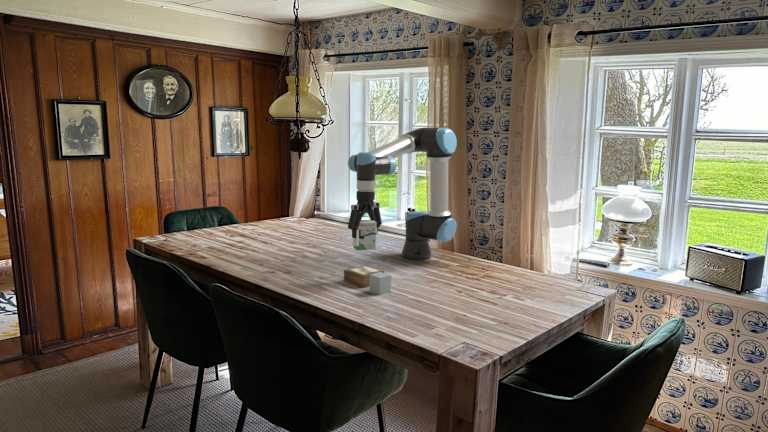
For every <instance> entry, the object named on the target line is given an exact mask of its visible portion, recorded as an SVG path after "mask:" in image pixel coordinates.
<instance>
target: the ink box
mask: <svg viewBox="0 0 768 432" xmlns="http://www.w3.org/2000/svg"><path fill="white" fill-rule="evenodd" d="M357 230H359V246H354V245H353V249H354V250H355V251H370V250H371V251H373V250H375V251H376V250H377V249H376V248H377V243H376V222H375V221H374V220H370V219H361V221H360V224H359V226H358V229H357Z"/></svg>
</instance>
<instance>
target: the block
mask: <svg viewBox="0 0 768 432" xmlns="http://www.w3.org/2000/svg"><path fill="white" fill-rule="evenodd" d="M391 285H392V275H391V274H388V273H386V272H384V273H382V272H378V273H374V274H370V279H369V287H368V288H369V290H368V292H370V293H373V294H375V295H378V296H382V295H385V294H388V293H391V292H392V291H391V288H392V286H391Z"/></svg>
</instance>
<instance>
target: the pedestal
mask: <svg viewBox="0 0 768 432" xmlns="http://www.w3.org/2000/svg"><path fill="white" fill-rule="evenodd" d="M378 272H382V273H385V270H382V269H379V268H376V267H373V266H369V265H360V266H355V267H352V268H347V269H344V270H343V282H345V283H348V284H351V285H353V286H355V287H359V288H362V289H365V288H369V279H370V274H374V273H378Z"/></svg>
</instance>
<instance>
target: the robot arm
mask: <svg viewBox="0 0 768 432" xmlns="http://www.w3.org/2000/svg"><path fill="white" fill-rule="evenodd" d="M457 141H458V140H457V136H456V135H455V132H454V131H453V130H452V129H451V128H446V127H420V128H416V129H414V130H411V131H408V132H406V133H404V134H402V135H400V137H399V138H398V139H396V140H393V141H391V142H390V141H389V142H388V143H386V144H383V145H380V146H378V147H377V148H374V149H371V150H369V151H367V152H362V151H361V152H358V153H357V154H351V155H350V157H349V158H348V160H347V165H348V169H349V170H350V171H352V172H354V173H356V194H355V195H356V201H357V203H356V204H351V205H350V208H351V209H350V214H349V215H350V216H349V219H348V225H347V229H349V230H351V238H352V246H353V247H354V246H359V230H357V229H358V226H359V224H360V221H361V220H363V219H362V218H363V216H364V215H365V214H367V215H368V217H369V220H374V221H375V222H376V244H377V240H378V234H379V228H380V227H381V226H382V224H383V222H382V221H383V220H382V217H381V212H380V211H381V210H380V202H376V201H375V198H376V194H375V193H376V192H375V190H376V176H382V175H383V176H384V175H386V176H387V175H391V174H394V173H395V172H396V170H397V161H396V158H399V157H401V156H403V155H405V154H407V155H410V154H412V153H416V152H417V153H426V158H427V159H428V160H429V174H430V175H429V179H430V180H429V181H430V182H429V186H430V187H429V189H430V190H429V191H430V192H429V193H430V194H429V195H430V197H429V198H430V203H429V204H430V207H429V208H430V209H429V210H428V211H427V210H419V211H411V212H410V211H409V212H408V213H406V217H405V241H404V245H403V247H402V250H401V257H402V258H403V259H406V260H413V261H414V260H416V261H423V260H425V261H426V260H430V259H431V258H432V250H431V247H430V243H429V240H434V241H437V242H445V243H447V242H449V241H451V240H452V239H453V238H454V236H455V234H456V231H457V228H458V227H457V225H458V224H457V221H456V219H454V218H453V216H452V212H451V211H450V210H449V160H450V159H451V158H452V154H453V153H454V152H456V149H457V144H458V143H457Z"/></svg>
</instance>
